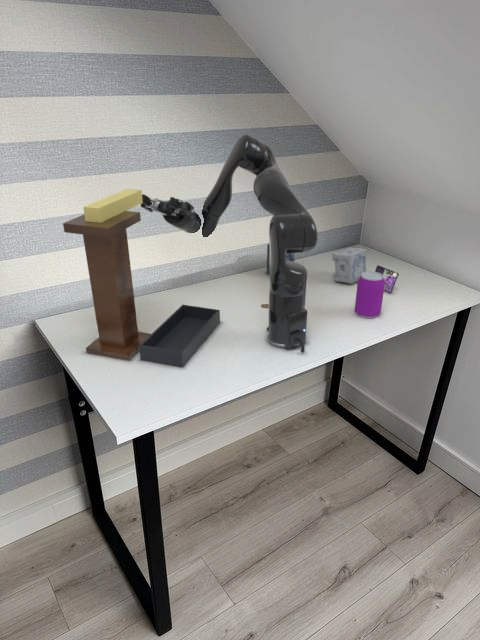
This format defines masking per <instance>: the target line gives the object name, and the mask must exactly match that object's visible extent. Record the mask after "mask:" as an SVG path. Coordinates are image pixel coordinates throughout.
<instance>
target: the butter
mask: <svg viewBox="0 0 480 640" xmlns="http://www.w3.org/2000/svg"><path fill="white" fill-rule="evenodd" d="M142 191H143V190H142V189H136V188H135V189H134V188H126V189H124V190H121V191H119V192H116V193H114V194H111V195H108V196H106V197H104V198H101V199H98V200H96V201H94V202H91V203H89V204H87V205H84V206H83V215H85V221H88V222H97V223H101V222H104V221H106V220H108V219H110V218H112V217H114V216H116V215H118V214H120V213H123V212H125V211H130V210H131V209H133V208H135V207H138V206H141V204H142V203H143V201H142V194H143V192H142Z"/></svg>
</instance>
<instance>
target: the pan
mask: <svg viewBox="0 0 480 640" xmlns="http://www.w3.org/2000/svg"><path fill="white" fill-rule="evenodd" d="M220 324H221V310H220V309H216V308H209V307H202V306H195V305H189V304H182V305H180V306H179V307H178V308H177V309H176V310H175V311H174V312H173V313H172V314H171V315H170V316H169V317H167V319H166V320H164V321H163V322H162V323H161V324H160V325H159V326H158V327H157V328H156V329H155V330H154V331H153V332H152V333H150V334H151V335H150V336H149V337H148V338H147V339H146V340H144V341H143V342H142V343H141V344H140V345H139V350H140V351H139V357H140V359H139V360H140V361H142V362H143V361H144V362H148V363H149V362H150V363H155V364H160V365H166V366H171V367H176V368H184V367H185V366H186V364H187V363H188V362H189V361H190V359H192V357H193V356H194V355H195V354H196V352H197V351H198V350H199V349H200V348H201V347H202V345H204V343H205V342H206V341H207V339H208V338H209V337H210V336H211V335H212V334H213V332H215V330H216V329H217V328H218V326H219V325H220Z"/></svg>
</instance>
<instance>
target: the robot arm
mask: <svg viewBox="0 0 480 640" xmlns="http://www.w3.org/2000/svg"><path fill="white" fill-rule="evenodd" d="M237 168H240V169H242V170H244V171H246V172H248V173H251V174H252V175H254V176H255V178H254V180H253V185H252V186H253V187H252V188H253V193H254V196H255V197H256V200H257V202H258V204H259V206H260V208H262V209H263V210H264V211H265V212H267V214H269V215H271V216H272V217H271V218H270V221H269V225H268V240H269V241H268V244H269V248H270V275H269V288H268V289H269V292H268V294H269V295H268V323H267V325H268V326H267V327H266V333H267V341H268V343H269V344H271V345H273V346H275V347H278V348H283V349H286V350H291V349H293V348H295V347H298V346H300V348H301V349H300V352H301V353H304V352H305V344H306V339H307V324H308V309H306V299H307V298H306V296H307V282H308V270H307V268H306V266H304V265H303V264H300V263H298V262H296V261H294V262H292V261H289V260H287V259H286V254H290V253H294V254H302V253H308V252H310V251H312V250H314V248H316V246H317V243H318V238H319V235H318V233H319V232H318V228H317V225H316V222H315V220H314V218H313V216H312V215H311V213H310V212H309V211H308V209H306V208H305V206H304V205H303V204H302V203H301V201H300V200H299V199H298V197H297V195H296V194H295V193H294V191H293V190H292V187H291V185H290V183H289V181H288V180H287V178H286V176H285V175H284V174H283V172H282V170H281V169H280V166H279V165H278V163H277V159H276V156H275V153H274V150H273V149H272V148H271V146H270V145H269V144H267V143H266V142H264V141H261V140H260V139H258V138H256V137H254V136H253V135H250V134H248V133H244V134H242V135H240V136H239V137H238V138H237V139H236V141H235V143H234V144H233V146H232V148H231V149H230V152H229V154H228V156H227V158H226V160H225V162H224V164H223V166H222V168H221V170H220V173H219V175H218V177H217V180H216V181H215V184H214V185H213V187H212V188H211V190H210V191H209V193H208V195H207V196H206V197H205V199H206V200H205V199H204V201H205V202H204V201H203V202H204V205H203V209H202V213H201V214H202V215H203V218H204V223H203V227H202V235H203V237H208V236H209V235H210V234H212V232H213V231H214V230H215V228H216V226H217V227H218V225H219V222H220V219H221V217H222V216H223V215H224V213H225V211H226V210H227V208H228V207H229V206H230V204H231V202H232V198H233V177H234V173H235V172H236V170H237ZM142 201H143V203H142V204H140V208H142V209H144V210H146V211H148V212H149V213H154V212H156V213H159V214H161V215H162V218H163V220H164V221H165V222H166V223H168V224H169V225H171V226H173V227H174V228H176V229H178V230H181V231H182V232H184V233H187V234H190V233H195V232H197V231H198V230H199V229H200V226H201V219H200V217H199V215H198V214H197V213H196V212H195V211H196V210H195V207H194V205H192V204H191V203H190V202H189V201H183V200H182V199H179V198H175V197H174V196H170V198H169V200H165V199H164V200H163V199H160V198H157V197H156V198H151V197H149V196H147V195H146V194H143V193H142ZM217 224H218V225H217ZM216 229H217V228H216Z"/></svg>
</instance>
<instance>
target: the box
mask: <svg viewBox="0 0 480 640" xmlns="http://www.w3.org/2000/svg"><path fill="white" fill-rule="evenodd" d="M266 249H267V251H266V274H267V275H269V276H270V248H269V243H267V248H266ZM286 259H287V260H289V261H292V262H295V253H290V254H286Z"/></svg>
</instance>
